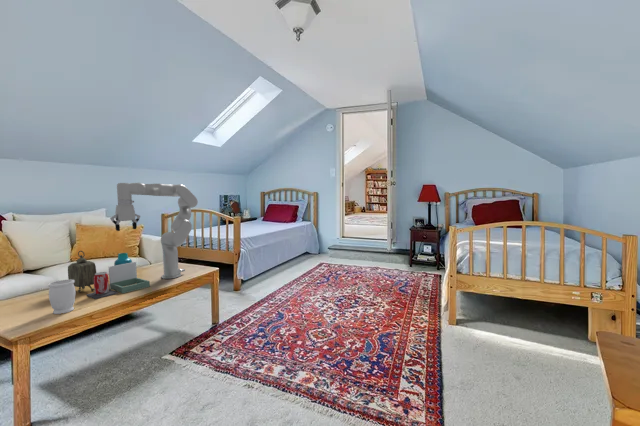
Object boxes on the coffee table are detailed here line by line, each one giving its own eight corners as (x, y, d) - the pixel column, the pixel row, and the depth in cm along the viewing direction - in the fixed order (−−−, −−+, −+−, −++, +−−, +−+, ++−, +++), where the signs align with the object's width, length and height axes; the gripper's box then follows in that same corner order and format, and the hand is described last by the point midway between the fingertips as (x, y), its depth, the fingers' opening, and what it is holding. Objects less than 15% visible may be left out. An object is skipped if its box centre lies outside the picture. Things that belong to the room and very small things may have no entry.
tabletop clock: (97, 290, 194) (95, 250, 192) (80, 295, 186) (77, 253, 184) (85, 287, 200) (82, 248, 199) (68, 291, 192) (65, 251, 191)
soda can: (112, 292, 188) (110, 272, 187) (100, 295, 181) (99, 275, 180) (103, 291, 190) (102, 271, 189) (91, 294, 183) (90, 274, 183)
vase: (137, 279, 218) (135, 252, 217) (126, 283, 208) (124, 255, 206) (122, 279, 219) (121, 251, 218) (111, 283, 209) (109, 255, 207)
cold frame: (136, 282, 210) (135, 261, 209) (149, 286, 201) (148, 264, 200) (109, 288, 197) (108, 266, 196) (122, 293, 188) (121, 270, 187)
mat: (109, 290, 194) (109, 289, 194) (118, 293, 187) (118, 292, 187) (86, 295, 184) (86, 294, 184) (95, 299, 178) (95, 297, 177)
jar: (60, 307, 165) (58, 279, 164) (81, 307, 166) (79, 278, 165) (44, 315, 154) (42, 285, 153) (67, 314, 155) (64, 284, 154)
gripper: (136, 202, 207) (137, 228, 208) (106, 203, 193) (108, 231, 194) (142, 202, 203) (143, 228, 204) (112, 203, 188) (114, 231, 190)
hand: (126, 229), depth 199 cm, fingers open, 9 cm apart
